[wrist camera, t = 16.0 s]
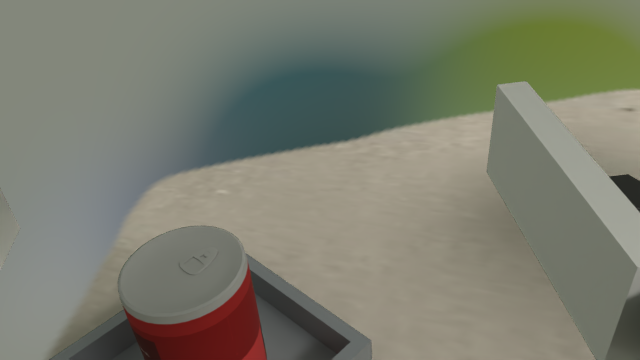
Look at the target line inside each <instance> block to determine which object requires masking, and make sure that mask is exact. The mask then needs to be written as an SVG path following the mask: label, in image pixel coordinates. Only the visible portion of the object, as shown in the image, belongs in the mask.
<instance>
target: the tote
mask: <svg viewBox="0 0 640 360" xmlns="http://www.w3.org/2000/svg"><path fill="white" fill-rule="evenodd" d="M246 256H247V259H248V264H249V269H250V272H251V277H252V282H253V287H254V292H255V298H256V303H257V308H258V313H259V318H260V323H261V328H262V333H263V338H264V343H265V348H266V353H267V360H372V348H371V340H370V339H368V338H367V337H366V336H364V335H363V334H361V333H360V332H358V331H357V330H355V329H354V328H353V327H351V326H350V325H348V324H347V323H345V322H344V321H343V320H341V319H340V318H338V317H337V316H335V315H334V314H332V313H331V312H330V311H328V310H327V309H325V308H324V307H322V306H321V305H320V304H318V303H317V302H315V301H314V300H312V299H311V298H309V297H308V296H307V295H305V294H304V293H302V292H301V291H299V290H298V289H296V288H295V287H294V286H292V285H291V284H289V283H288V282H286V281H285V280H284V279H282V278H281V277H279V276H278V275H276V274H275V273H273V272H272V271H271V270H269V269H268V268H266V267H265V266H263V265H262V264H261V263H259V262H258V261H256V260H255V259H253V258H252V257H250V256H249V255H248V254H246ZM49 360H145V359H144V357H143V355H142V352H141V350H140V347H139V345H138V343H137V340H136V338H135V335H134V333H133V331H132V328H131V326H130V323H129V321H128V319H127V316H126V313H125V311H124V310H122V311H121V312H119V313H118V314H116V315H115V316H113V317H112V318H110V319H109V320H107V321H106V322H104V323H103V324H101V325H100V326H98V327H97V328H95V329H94V330H92V331H91V332H90V333H88V334H87V335H85V336H84V337H82V338H81V339H79V340H78V341H76V342H75V343H73V344H72V345H70V346H69V347H67V348H66V349H64V350H63V351H61V352H60V353H58V354H57V355H55V356H54V357H52V358H51V359H49Z"/></svg>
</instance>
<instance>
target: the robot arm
mask: <svg viewBox="0 0 640 360" xmlns="http://www.w3.org/2000/svg"><path fill="white" fill-rule="evenodd" d="M487 173H488V175H489V177H490V178H491V180H492V182H493V183H494V185H495V187H496V189H497V190H498V192H499V194H500V195H501V197H502V199H503V201H504V202H505V204H506V206H507V207H508V209H509V211H510V213H511V214H512V216H513V218H514V219H515V221H516V223H517V225H518V226H519V228H520V230H521V231H522V233H523V235H524V237H525V238H526V240H527V242H528V243H529V245H530V247H531V249H532V250H533V252H534V254H535V255H536V257H537V259H538V261H539V262H540V264H541V266H542V268H543V269H544V271H545V273H546V274H547V276H548V278H549V280H550V281H551V283H552V285H553V286H554V288H555V290H556V292H557V293H558V295H559V297H560V298H561V300H562V302H563V304H564V305H565V307H566V309H567V310H568V312H569V314H570V316H571V317H572V319H573V321H574V322H575V324H576V326H577V328H578V329H579V331H580V333H581V334H582V336H583V338H584V340H585V341H586V343H587V345H588V347H589V348H590V350H591V352H592V353H593V355H594V357H595V359H596V360H640V181H639V180H637V179H635V178H633V177H632V176H630V175H628V174H627V175H619V176H611V177H609V176H608V175H607V174H606V173H605V172H604V170H603V169H602V168H601V167H600V166H599V165H598V164H597V162H596V161H595V160H594V159H593V158H592V157H591V155H590V154H589V153H588V152H587V151H586V150H585V149H584V147H583V146H582V145H581V144H580V143H579V142H578V140H577V139H576V138H575V137H574V136H573V135H572V134H571V132H570V131H569V130H568V129H567V128H566V127H565V125H564V124H563V123H562V122H561V121H560V120H559V119H558V117H557V116H556V115H555V114H554V113H553V112H552V110H551V109H550V108H549V107H548V106H547V105H546V104H545V102H544V101H543V100H542V99H541V98H540V97H539V96H538V94H537V93H536V92H535V91H534V90H533V89H532V88H531V86H530V85H529V84H528V83H527V82H516V83H508V84H499V85H497V91H496V100H495V107H494V115H493V123H492V132H491V140H490V148H489V156H488V165H487ZM19 230H20V227H19V225H18V223H17V221H16V219H15V217H14V215H13V213H12V211H11V209H10V207H9V205H8V203H7V201H6V199H5V197H4V195H3V193H2V191H1V189H0V270H1V268H2V266H3V264H4V262H5V260H6V257H7V255H8V253H9V251H10V249H11V247H12V245H13V243H14V241H15V239H16V236H17V234H18V232H19Z"/></svg>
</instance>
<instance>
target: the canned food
mask: <svg viewBox="0 0 640 360" xmlns="http://www.w3.org/2000/svg"><path fill="white" fill-rule="evenodd" d="M118 292H119V295H120V300H121V303H122V305H123V308H124V311H125V313H126V316H127V319H128V321H129V323H130V326H131V328H132V331H133V333H134V335H135V338H136V340H137V343H138V345H139V347H140V350H141V352H142V355H143V357H144V359H145V360H267V353H266V348H265V343H264V338H263V333H262V328H261V323H260V318H259V313H258V308H257V303H256V298H255V292H254V287H253V282H252V277H251V272H250V269H249V264H248V259H247V256H246V253H245V251H244V248H243V245H242V244H241V242H240V241H239V239H238V238H237V237H235V236H234V235H233V234H232V233H230V232H228V231H226V230H224V229H220V228H217V227H212V226H189V227H183V228H179V229H175V230H172V231H169V232H166V233H164V234H161V235H159V236H157V237H155V238H153V239H152V240H150V241H148V242H147V243H145V244H144V245H142V246H141V247H140V248H138V249H137V250H136V251H135V252H134V253H133V254H132V255H131V256H130V257H129V259H128V260H127V261H126V263H125V264H124V266H123V268H122V270H121V272H120V275H119V279H118Z"/></svg>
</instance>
